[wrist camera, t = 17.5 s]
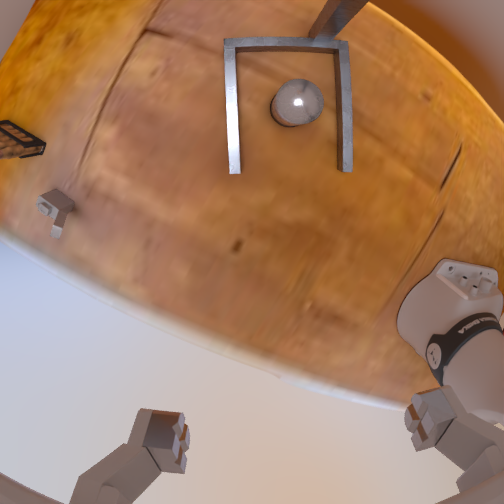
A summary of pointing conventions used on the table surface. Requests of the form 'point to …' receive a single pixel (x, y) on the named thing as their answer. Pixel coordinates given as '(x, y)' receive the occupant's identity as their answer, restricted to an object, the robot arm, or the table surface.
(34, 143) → the ammunition clip
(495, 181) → the table surface
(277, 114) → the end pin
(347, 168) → the grey metal bar frame
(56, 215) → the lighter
